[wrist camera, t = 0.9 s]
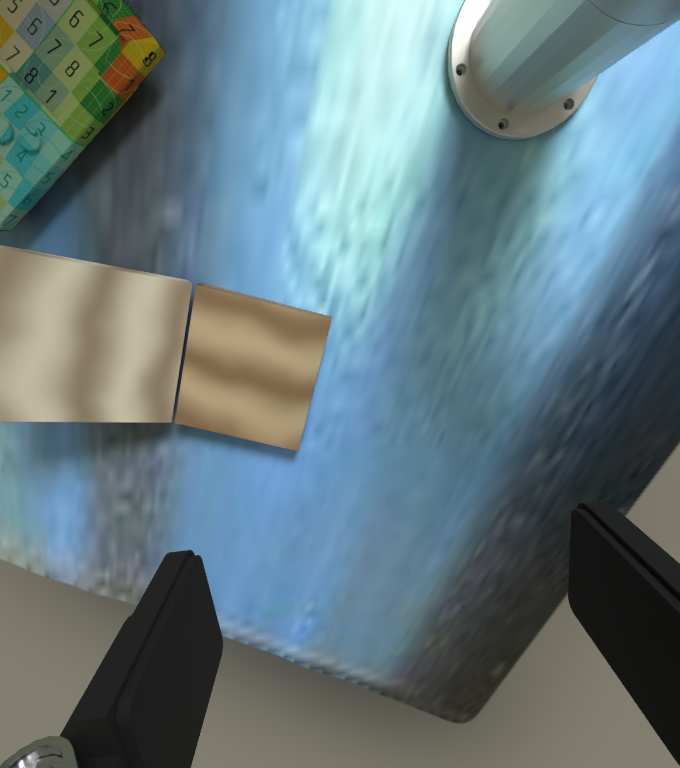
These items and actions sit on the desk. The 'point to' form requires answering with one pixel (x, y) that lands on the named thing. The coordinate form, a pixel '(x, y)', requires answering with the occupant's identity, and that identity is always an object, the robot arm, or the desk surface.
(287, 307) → the oak floorboard
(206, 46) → the desk surface
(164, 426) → the desk surface
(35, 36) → the puzzle game
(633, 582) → the robot arm
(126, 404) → the birch plank
